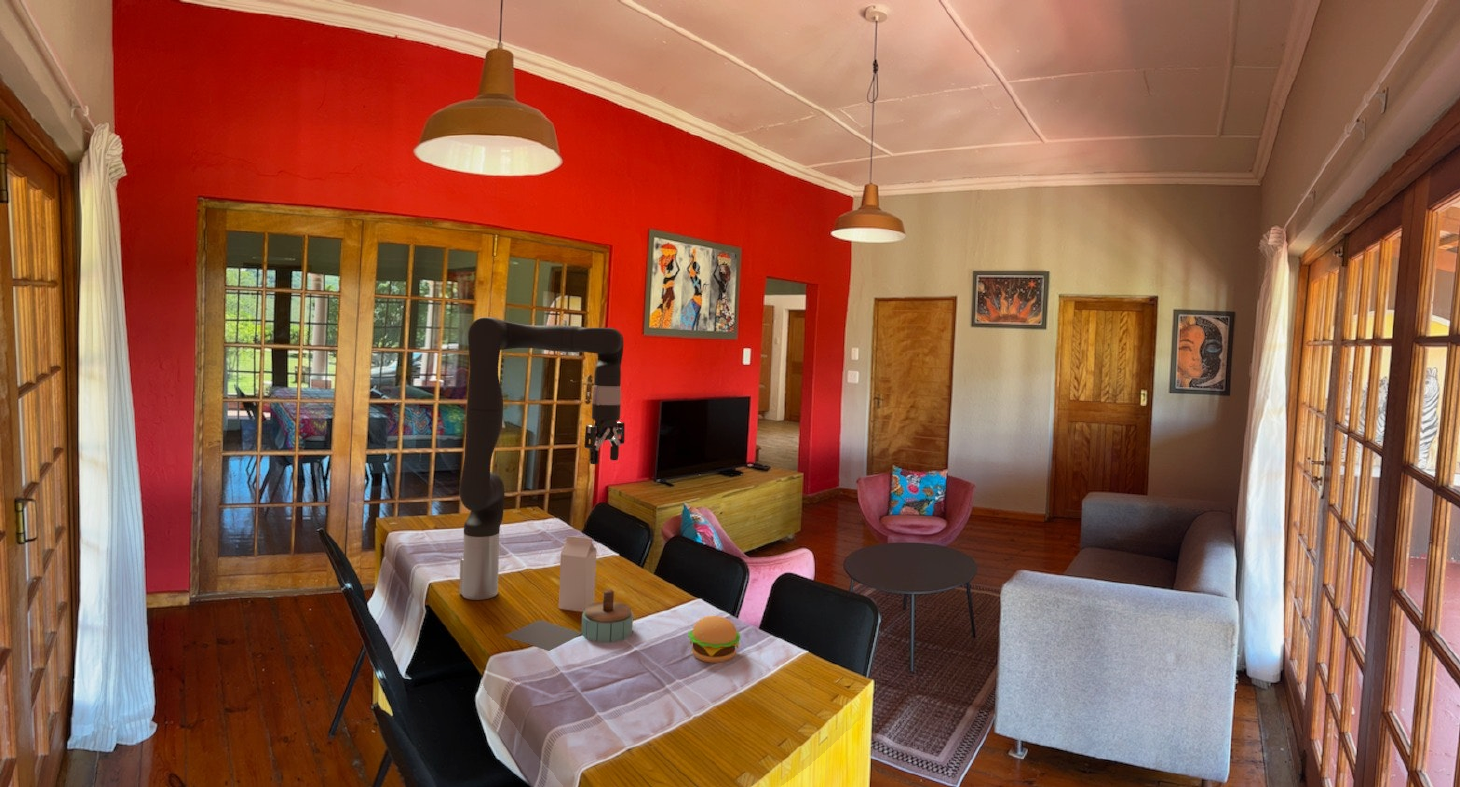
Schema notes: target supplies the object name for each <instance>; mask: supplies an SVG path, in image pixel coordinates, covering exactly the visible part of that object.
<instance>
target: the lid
mask: <svg viewBox="0 0 1460 787" xmlns="http://www.w3.org/2000/svg"><path fill="white" fill-rule="evenodd" d="M614 598H615V591H614V590H611V589H607V590H604V591H603V601H600V602H594V604H591V605H589V606H587V607H586V609H585V616H586V618H588V619H589V620H592V621H595V622H602V623H613V622H619V621H623V620H625V619H627V618H629V617H630V615H631V611H632V609H631V607H630V606H629V605H627V604H625V603H623V602H618V601H614V600H615V599H614Z"/></svg>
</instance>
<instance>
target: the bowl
mask: <svg viewBox="0 0 1460 787" xmlns="http://www.w3.org/2000/svg"><path fill="white" fill-rule="evenodd" d="M633 623H634V612H633V611H632V610H631V615H630V617H629V618H627V619H625V620H623V621H619V622H613V623H602V622H595V621H592V620H589V619H588V618H586V616H585V610H584V612H582V614H581V629H580V630H581V631H580V632H581V636H583V637H584V638H585V639H586V640H589V641H593V642H598V643H613V642H621V641H623V640H626V639H627V638H629V637H631V636H632V633H633Z"/></svg>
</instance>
